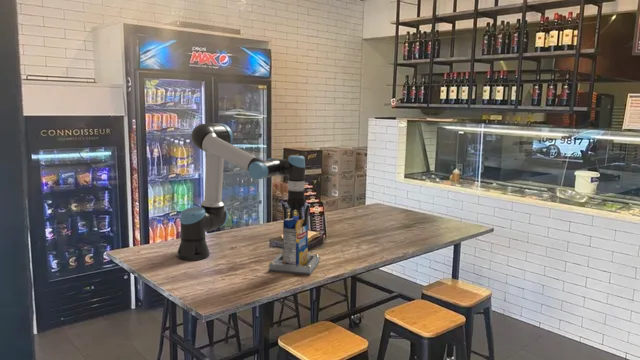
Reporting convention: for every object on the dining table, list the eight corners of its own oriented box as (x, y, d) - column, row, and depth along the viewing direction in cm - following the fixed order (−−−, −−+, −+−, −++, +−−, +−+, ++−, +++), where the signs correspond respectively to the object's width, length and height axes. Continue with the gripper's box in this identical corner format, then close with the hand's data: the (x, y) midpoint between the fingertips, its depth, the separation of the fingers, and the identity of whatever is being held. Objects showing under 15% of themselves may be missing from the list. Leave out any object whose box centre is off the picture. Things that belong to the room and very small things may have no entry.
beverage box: (282, 266, 224) (283, 219, 221) (294, 260, 234) (295, 215, 230) (295, 269, 221) (296, 221, 218) (307, 262, 231) (308, 217, 227)
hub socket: (269, 271, 220) (269, 262, 220) (281, 258, 239) (281, 250, 238) (310, 275, 216) (310, 266, 216) (319, 262, 235) (319, 254, 234)
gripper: (276, 190, 220) (276, 240, 224) (311, 192, 217) (310, 243, 220) (281, 187, 227) (281, 236, 231) (315, 189, 224) (314, 239, 227)
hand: (295, 239), depth 226 cm, fingers open, 3 cm apart
